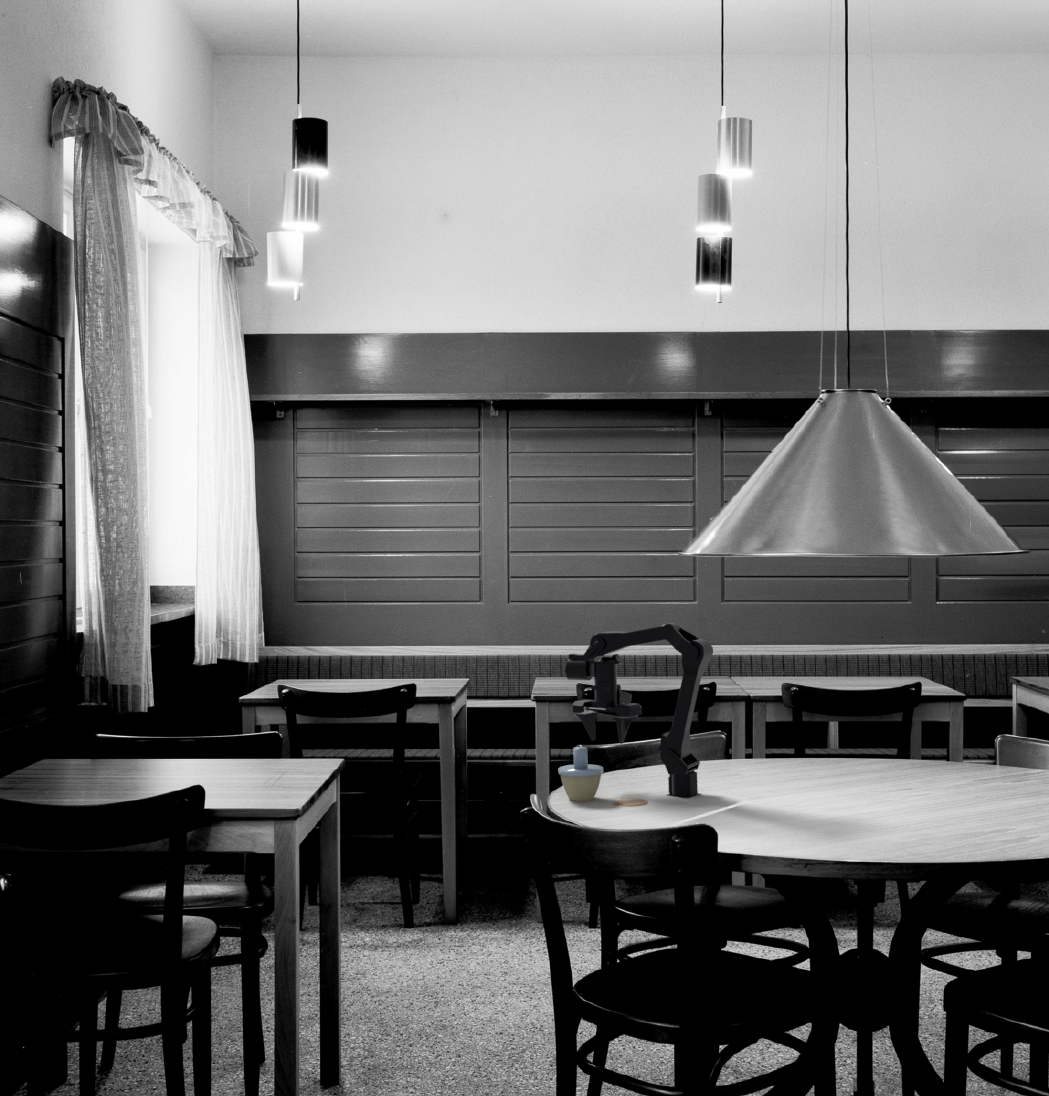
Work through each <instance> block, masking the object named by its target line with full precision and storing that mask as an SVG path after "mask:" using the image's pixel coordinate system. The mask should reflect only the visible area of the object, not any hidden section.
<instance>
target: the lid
mask: <svg viewBox="0 0 1049 1096" xmlns="http://www.w3.org/2000/svg"><path fill="white" fill-rule="evenodd" d="M572 750H573V753H572V754H573V764H567V765H563V766H559V768H558V769H557V770H558V774H559V775H560V776H561V775H564V776H571V777H587V776H595V775H600V774H601V775H602V774H604V767H603V766H602V765H598V764H588V763H589V762H588V747H587V746H575V747H573V749H572Z"/></svg>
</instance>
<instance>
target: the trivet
mask: <svg viewBox="0 0 1049 1096" xmlns="http://www.w3.org/2000/svg"><path fill="white" fill-rule="evenodd" d="M649 802H650V801H648V800H646V799H643V798H635V797H633V798H631V797H630V798H619V799H614V800H612V801H610V803H611V805H613V806H618V807H634V808H635V807H641V806H647V805H648V804H649Z"/></svg>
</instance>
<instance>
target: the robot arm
mask: <svg viewBox="0 0 1049 1096" xmlns="http://www.w3.org/2000/svg"><path fill="white" fill-rule="evenodd" d="M665 640H666V641H667V642H668V643H669V644H670V645H671V647H673V649H675V650H676V651H677V652H678V653H680V655H681V659H680V660H681V668H682V669H681V670H682V677H681V678H682V679H681V683H680V688H679V690H678V692H679V693H678V697H677V701H676V704H675V705H676V707H675V709H674V715H673V720H672V722H671V723H672V724H671V728H670V730H669V731H667V732H665V733H663V734H661V735H660V745H659V747H658V749H657V751H658V752H659V760H661V763H662V764H663V765H664V767H665V769H666V772H667V774H668V778H667V779H668V781H667V782H668V794H666V796H668V797H673V798H680V799H691V798H693V797H697V796H700V795H702V793H699V791H698V771H697V770H698V769H699V766H700V764H701V762H700V760H699V759H698V758H697V757H696V756H695V754H693V752H691V751H692V740H691V739H692V737H691V733H690V729H691V725H692V722H693V721H692V720H693V716H694V711H695V707H696V702H697V698H698V693H699V689H700V685H701V680H702V677H703V675H704V673H705V671H706V670H707V668H708V666H709V664H710V662H711V659H712V656H713V654H714V648H713V646H712V644H711V643H710V642H709V640H708V639H707V640H706V639H704V638H699V637H698V636H697V635H695V634H694V633H691V632H689V631H688V630H686V629H684V628H682V627H681V625H679V624H677V623H676V622H669V623H664V624H662V625H659V626H658V625H657V626H653V627H652V626H651V627H648V628H643V629H638V630H631V631H614V630H613V631H611V630H610V631H603V632H597V633H594V634H593V635H592V637H591V638H590V641H589V646H588V648H587V649H586V650H585V652H584V653H583V654H578V653H570V654H568V659H567V662H566V664H565V667H564V673H565V677H566V679H567V680H569V681H590V680H591V679H592V678H593V677H594V684H593V685H591V690H594V699H581V700H575V701H574V702H573V703H572V705H571V710H572V712H571V713H576V714H575V715H576V717H578V718H579V720H580V721H581V723H582V724H583V726H584V728H585V730H586V732H587V734H588V736H589V738H590V740H591V741H592V742H593V741H596V733H597V732H596V719H597V716H598V714H599V712H606V713H614V714H616V715H617V717H615V724H616V728H617V729H616V730H617V737H618V742H619V744H620V745H621V744H624V743H625V739H626V736H627V735H628V734H627V733H628V730H629V727H630V724H631V723H632V722H633V720H634V719H637V718H638V717H639V716H642V715H643V709H642V706H641V704H640V703H635V702H633V703H631V702H632V698H633V694H631V693H629V692H627V691H624V690H622V688H621V687H622V686H621V684H619V683H618V680H617V679H618V678H617V676H618V675H617V673H618V672H617V665H619V664H623V663H625V660H624V659H623V658H622V657H621V656H619V654H618V653H616V652H619V651H622V650H624V649H626V648H628V647H631V646H636V645H644V644H647V643H653V642H659V641H665ZM614 653H615V654H614ZM610 654H613V655H612V656H606V655H610ZM597 658H600V659H599V660H595V659H597Z"/></svg>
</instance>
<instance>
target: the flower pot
mask: <svg viewBox="0 0 1049 1096" xmlns="http://www.w3.org/2000/svg"><path fill="white" fill-rule="evenodd" d="M601 777H602V774H600V775H595V776H587V777H571V776H564V775H560V779H561V784H562V786H563V789H564V791H565V794H566V795H567V798H568V799H569V800H570V801H572V802H589V801H592V800H594V798H595V795H596V793H597V792H598V789H599V786H600V782H601Z"/></svg>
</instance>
